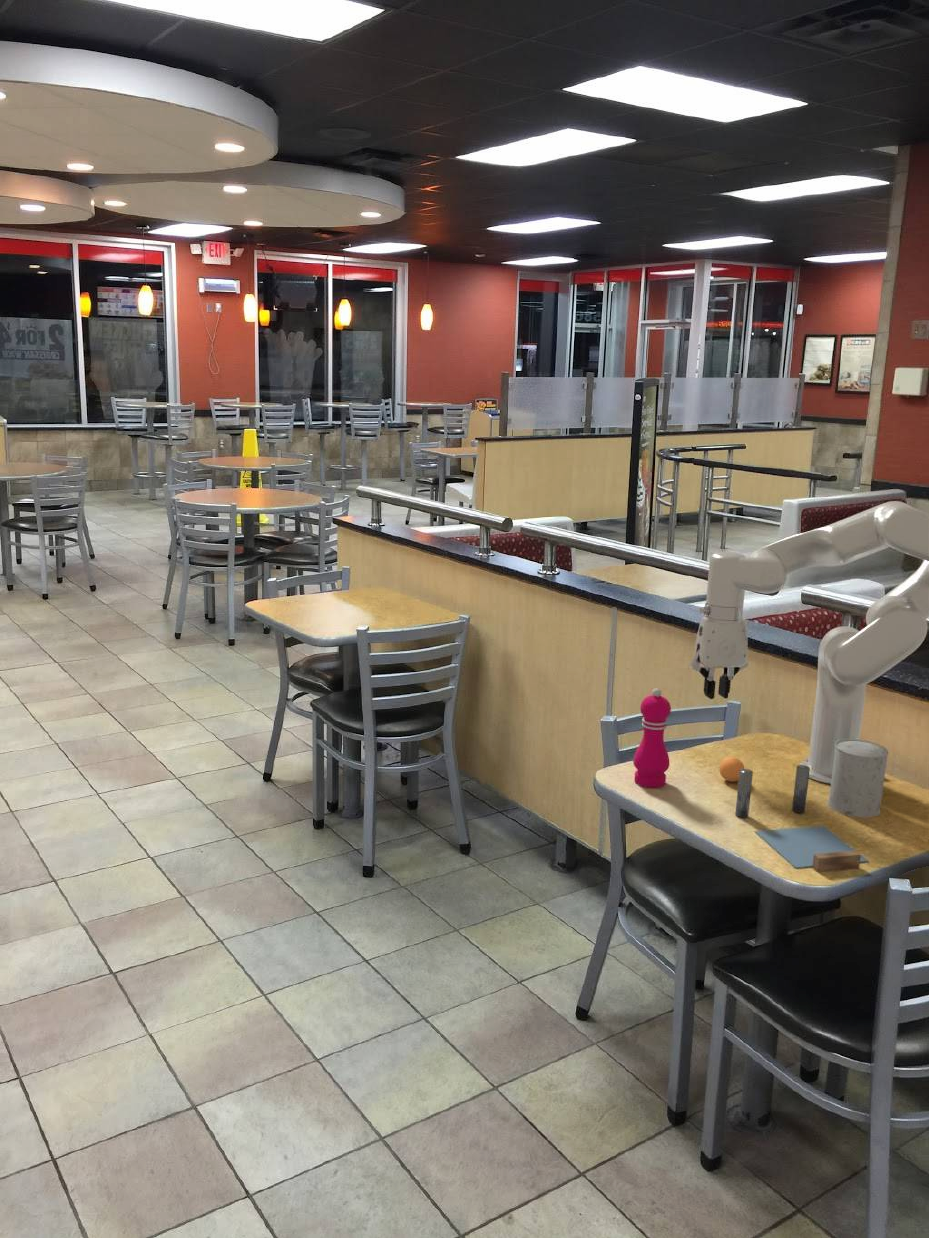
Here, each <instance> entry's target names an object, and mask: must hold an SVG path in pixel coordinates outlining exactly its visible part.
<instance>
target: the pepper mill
mask: <svg viewBox="0 0 929 1238" xmlns="http://www.w3.org/2000/svg"><path fill="white" fill-rule="evenodd" d="M639 709H640V713H641V715H642V719H641V722H642V723H641V726H642V727H643V734H642V739H641V741H640V743H639V746H638V747H637V749H636V750H635V753H634V756H633V766H634V767H635V769H636V771H635V773H634V782H635V784H637V785H638V784H639V786H640V785H642V786H641V787H643V786H646V787H645V788H648V787H652V788H651V789H658V787H659V788H661V787H664V786H665V785H666V781H667V775H666V773H665V772H667V771H668V770H669V767H670V756H669V753H668V750H667V748H666V745H665V740H664V737H665V735H664V733H665V729H667V727H668V725H667V723H668V720H667V718H668V717H669V716H670V715H671V711H672V708H671V703H670V701H669V700H668V699H667V698H666V697H664V696H663V695H662V690H661V689H659V688H656V687H655V688H654V689H653V690H652V692H651V695H647V696H646V697H644V698H643V699H642V701H641V703H640V708H639ZM653 787H654V788H653Z"/></svg>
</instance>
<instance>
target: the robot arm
mask: <svg viewBox="0 0 929 1238" xmlns="http://www.w3.org/2000/svg"><path fill="white" fill-rule="evenodd" d="M889 548H891V549H894V550H896V551H898V552H901V553H904V554H906V555H908V556H911V557H914V558H917V559H919V560H922V563H921V564H920V566H919V567H918V568H917V569H916V570H915V571H914V572H913V573H912V574H911V575H910V576H909V577H907V578H906V579H905V580H904V581H902V582H901V583H900V584H898V585H897V586H896V587H894V588H893V589H892V590H890V591H889V592H887V593H886V594H885V595H884V596H882V597H880V598H879V599H878V600H876V601H875V602H873V603H872V604H871V605H870V606H869V608H868V610H867V611H866V614H865V623H866V626H865V627H864V628H862V629H860V630H858V629H857V628H854V627H852V626H851V627H850V626H845V625H844V626H837V627H834V628H831V629H830V630H829V631H828V632H827V633H825V635H824V636H823V638H822V640H821V641H820V644H819V647H818V658H817V679H816V680H817V682H816V683H817V684H816V693H815V700H814V710H813V717H812V725H811V733H810V742H809V751H808V758H806V759H803V760H802V761H800V763H799V765H805V766H808V767H809V768H810V772H809V779H812V780H814V781H818V782H821V783H825V784H829V785H831V780H832V772H833V764H834V756H835V748H836V746H835V744H836V742H838V741H840V740H845V739H857V740H861V739H860V738H861V730H862V724H863V714H864V707H865V702H866V701H865V699H866V694H867V693H866V691H867V684H869V683H871V682H873V681H875V680H876V679H877V678H879V677H880V676H882V675H884V674H885V673H886V672H888V671H890V670H891V669H892V668H893V667H895V666H896V665H898V664H899V663H901V662H902V661H903V660H905V659H906V658H907V657H908V656H910V655H912V653H915V651H916V650H917V649H918V648H919V647H920V646H921V645H922V644H923V642H924V640H925V638H926V637H927V633H928V622H927V619H928V618H929V512H925V511H922V510H920V509H918V508H915V507H914V506H911V505H910V504H907V503H905V502H903V501H899V500H895V501H893V500H892V501H887V502H885V503H884V502H883V503H881V504H879V505H876V506H873V507H871V508H868V509H866V510H863V511H860V512H858V513H856V514H853V515H852V516H848V517H846V518H843V519H841V520H837V521H836V522H833V523H831V524H828V525H825V526H822V527H819V528H814V529H812V530H809V531H806V532H801V533H797V534H795V535H792V536H791V535H790V536H788V537H785V538H782V539H780V540H778V541H775V542H773V543H770V544H768V545H765V546H763V547H760V548H758V549H756V550H755V551H753V552H752V553H751V554H750V555H748V557H746V555H744V554H742V553H740V552H739V553H738V552H732V551H717V552H714V553H713V554H712V555H711V556H710V558H709V563H708V564H709V565H708V576H707V586H706V587H707V588H706V599H705V603H704V606H703V607H699V613H700V614H701V615H702V614H704V616H702V617H701V620H700V623H699V626H698V630H697V633H696V640H695V646H694V656H693V658H692V661H691V662H690V664H689V668H691V669H692V670H694V671H696V672H698V673H700V674H701V676H702V677H703V678H704V682H703V694H704V696H705V697H706V698H708V699H709V700H714V698H715V691H716V680H714V678H715V670H716V669H720V668H721V669H722V672H721V674H722V675H721V676H719V680H718V692H717V695H719V696H720V697H722V698H723V699H728V698H729V694H730V691H731V683H732V680H734V678H735V676H736V675H737V674H738V673H739V672H740V671H741V670H743V669H745V668H747V667H748V665H749V663H748V661H747V659H748V643H749V642H748V625H747V620H746V619H745V618H743V614H744V613H743V612H744V602H745V601H744V600H745V592H746V591H749V592H750V591H751V592H754V593H758V594H759V593H760V594H765V595H766V594H768V595H770V594H774V593H777V592H779V591H781V590H782V589H783V588H784V587H785V585H786V584H787V581H788V575H790V574H793V573H795V572H799V571H801V570H805V569H809V568H815V567H839V566H845V565H847V564H850V563H851V562H854V561H857V560H860V559H862V558H864V557H867V556H869V555H872V554H874V553H875V554H876V553H878V552H880V551H883V550H885V549H889Z"/></svg>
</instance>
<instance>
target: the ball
mask: <svg viewBox="0 0 929 1238" xmlns="http://www.w3.org/2000/svg"><path fill="white" fill-rule="evenodd" d="M740 769H745V765H744V763H743V762H742V761H741V760H740V759H739V758H737V757H734V756H730V757H725V758H723V759H722V761H721V762H720V764H719V767H718V770H719V774H720V776H721V777H722V778H723V779H724V780H725V781H727V782H731V783H734V782H737V781H738V782H739V772H740Z"/></svg>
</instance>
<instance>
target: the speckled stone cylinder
mask: <svg viewBox="0 0 929 1238" xmlns="http://www.w3.org/2000/svg"><path fill="white" fill-rule="evenodd" d="M835 746H836V748H835V756H834V764H833V772H832V780H831V784H830V789H829V797H828V803H827V804H828V806H829V807H830V808H831V810H833V811H835V812H837V813H839V814H842V815H845V816H849V817H853V818H862V819H863V818H864V819H865V818H866V819H867V818H875V817H877V816H879V815H880V814H881V806H882V805H881V804H882V798H883V790H884V783H885V775H886V768H887V762H888V755H889V750H888V749H887V748H886V747H885V746H884V745H881V744H879V743H876V742H872V741H869V740H865V739H864V740H863V739H860V740H857V739H845V740H840V741H838V742H836V744H835ZM878 814H879V815H878Z"/></svg>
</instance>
